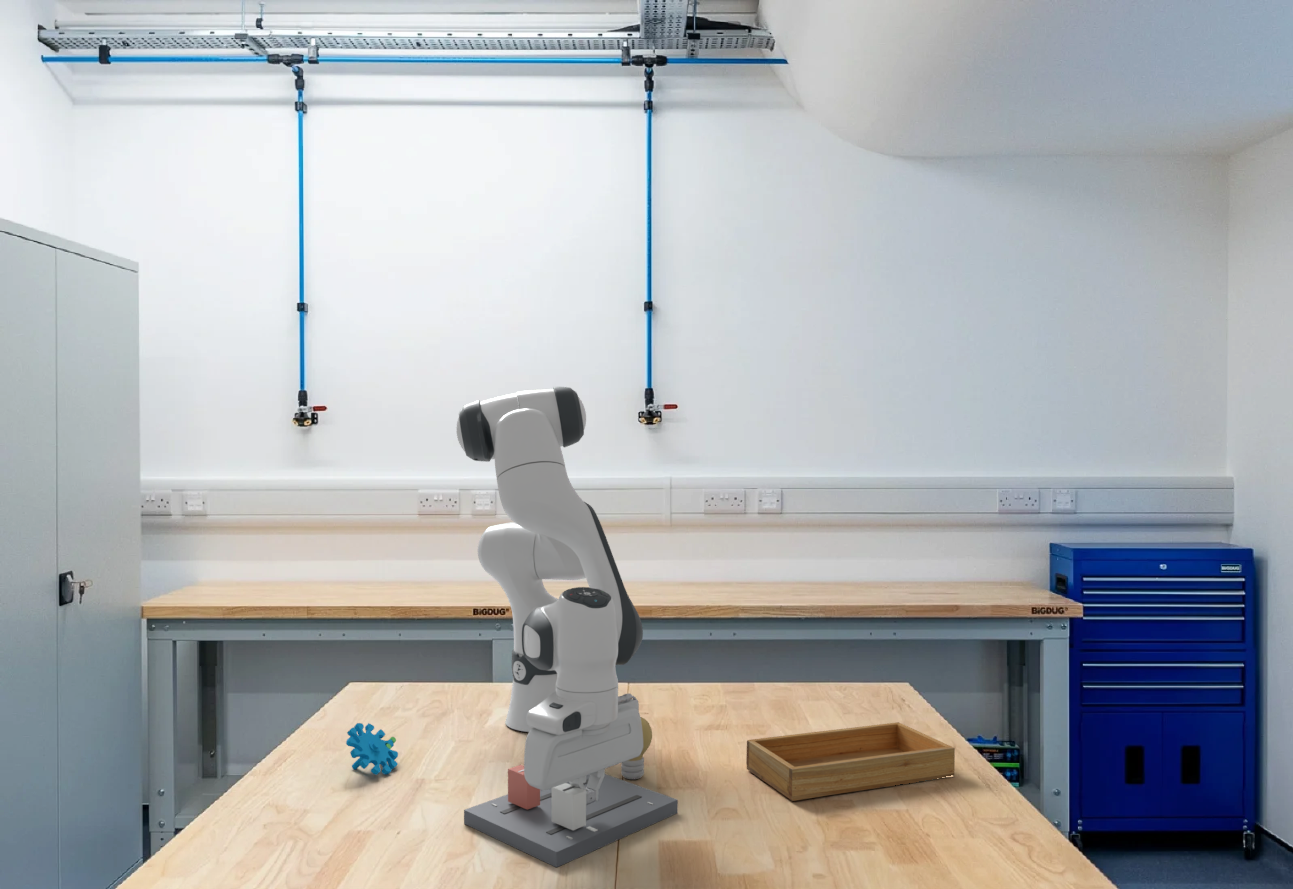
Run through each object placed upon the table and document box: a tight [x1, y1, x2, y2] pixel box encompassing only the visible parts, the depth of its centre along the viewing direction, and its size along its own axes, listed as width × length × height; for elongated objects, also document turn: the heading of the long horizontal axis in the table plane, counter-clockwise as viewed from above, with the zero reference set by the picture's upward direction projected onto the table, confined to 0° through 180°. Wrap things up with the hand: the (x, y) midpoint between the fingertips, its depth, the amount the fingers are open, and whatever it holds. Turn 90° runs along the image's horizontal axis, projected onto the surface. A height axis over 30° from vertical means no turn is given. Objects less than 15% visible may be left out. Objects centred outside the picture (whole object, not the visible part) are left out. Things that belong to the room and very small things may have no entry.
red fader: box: [507, 764, 540, 810], centre depth 137 cm, size 2×4×5 cm, turn 47°
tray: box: [745, 722, 956, 802], centre depth 155 cm, size 31×15×6 cm, turn 111°
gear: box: [345, 722, 399, 776], centre depth 157 cm, size 11×6×10 cm
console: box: [463, 773, 679, 868], centre depth 137 cm, size 24×20×2 cm
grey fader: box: [552, 783, 586, 830], centre depth 130 cm, size 2×4×5 cm, turn 47°
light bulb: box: [620, 716, 653, 780], centre depth 153 cm, size 6×6×10 cm
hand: (586, 803), depth 132 cm, fingers closed
